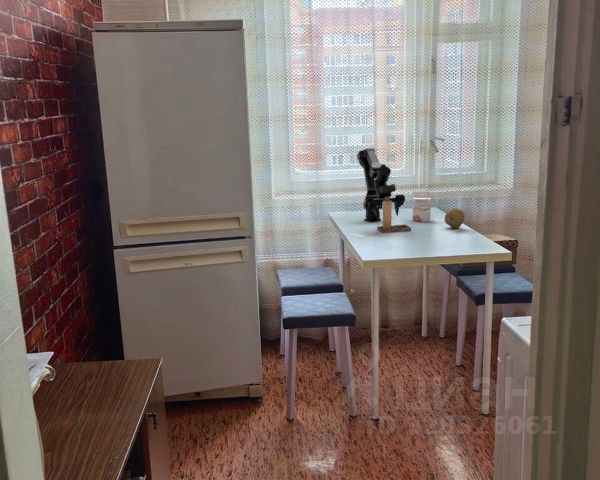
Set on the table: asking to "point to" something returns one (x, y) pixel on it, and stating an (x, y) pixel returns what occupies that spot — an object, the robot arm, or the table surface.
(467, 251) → the table surface
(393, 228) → the brown divided tray
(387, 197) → the tan rounded column
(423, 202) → the ink cartridge box
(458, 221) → the natural sponge
